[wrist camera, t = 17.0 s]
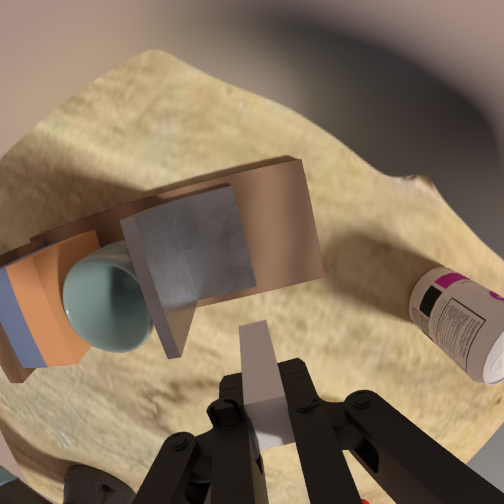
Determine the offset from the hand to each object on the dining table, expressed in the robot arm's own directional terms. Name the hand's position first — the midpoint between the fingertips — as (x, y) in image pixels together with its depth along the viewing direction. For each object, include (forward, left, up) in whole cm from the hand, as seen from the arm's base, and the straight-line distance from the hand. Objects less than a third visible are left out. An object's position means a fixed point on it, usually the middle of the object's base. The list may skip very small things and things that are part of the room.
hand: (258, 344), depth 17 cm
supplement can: (+21, -10, -16) cm, 28 cm away
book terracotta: (-16, +3, -15) cm, 22 cm away
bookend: (-3, +3, -14) cm, 15 cm away
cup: (-11, +2, -15) cm, 18 cm away
